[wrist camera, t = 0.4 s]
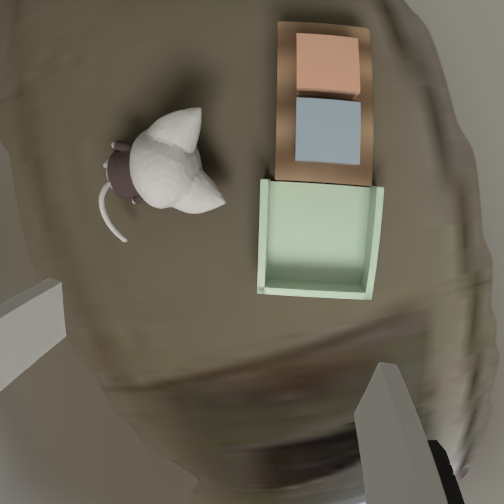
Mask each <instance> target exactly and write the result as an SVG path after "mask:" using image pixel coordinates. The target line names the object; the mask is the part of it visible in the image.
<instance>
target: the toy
mask: <svg viewBox="0 0 504 504" xmlns="http://www.w3.org/2000/svg"><path fill="white" fill-rule="evenodd" d="M201 121H202V110H201V108H199V107H195V108H188V109H185V110H179V111H175V112H172V113H169V114H167V115H165V116H163V117H161V118H159V119H158V120H157V121H155V122H154V123H153V124H152V125H151V126H150V127H149V128H148V129H147V130H145V131H143V132H142V133H141V134H140V135H139V136H138V137H137V138H136V139H135V141H134V142H133V144H130V143H127V142H121V141H115V142H113V143H111V146H112V147H113V148H114V149H115V150H116V151H115V152H114V153H113V154H112V155H111V156H110V158H109V159H108V160H106V162H105V163H104V164H103V167H105V168H107V170H106V175H107V180H108V181H107V182H106V183H105V184H104V185H103V187H102V190H101V192H100V194H99V208H100V212H101V214H102V217H103V219H104V221H105V222H106V224H107V225H108V227H109V228H110V230H111V231H112V232H113V233H114V234H115V235H116V236H117V237H118V238H119V239H121V240H122V241H123V242H126V241H127V237H125V236H124V235H123V234H122V233H121V232H120V231H119V230H118V229H117V228H116V227H115V225H114V224H113V223H112V221H111V220H110V218H109V216H108V214H107V212H106V209H105V204H104V199H105V194H106V191H107V190H108V188H109V187H110V186H111V188H112V189H113V190H114V192H115V193H116V194H117V195H118V196H119V197H121V198H124V199H128V198H131V197H133V196H134V197H133V199H132V203H134V204H139V203H140V202H141V201H142V200H144V201H146V202H147V203H148V204H149V205H151V206H153V207H156V208H167V207H174V208H176V209H178V210H180V211H183V212H186V213H194V214H197V213H203V212H206V211H209V210H212V209H214V208H217V207H219V206H221V205H223V204H225V203H226V201H225V198H224V197H223V195H222V193H221V191H220V190H219V188H218V187H217V186H216V184H215V183H214V181H213V180H212V179H211V178H210V177H209V176H208V175H207V174H206V173H205V172H204V171H203V169H202V163H201V158H200V154H199V151H198V148H197V142H198V138H199V134H200V130H201Z"/></svg>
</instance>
